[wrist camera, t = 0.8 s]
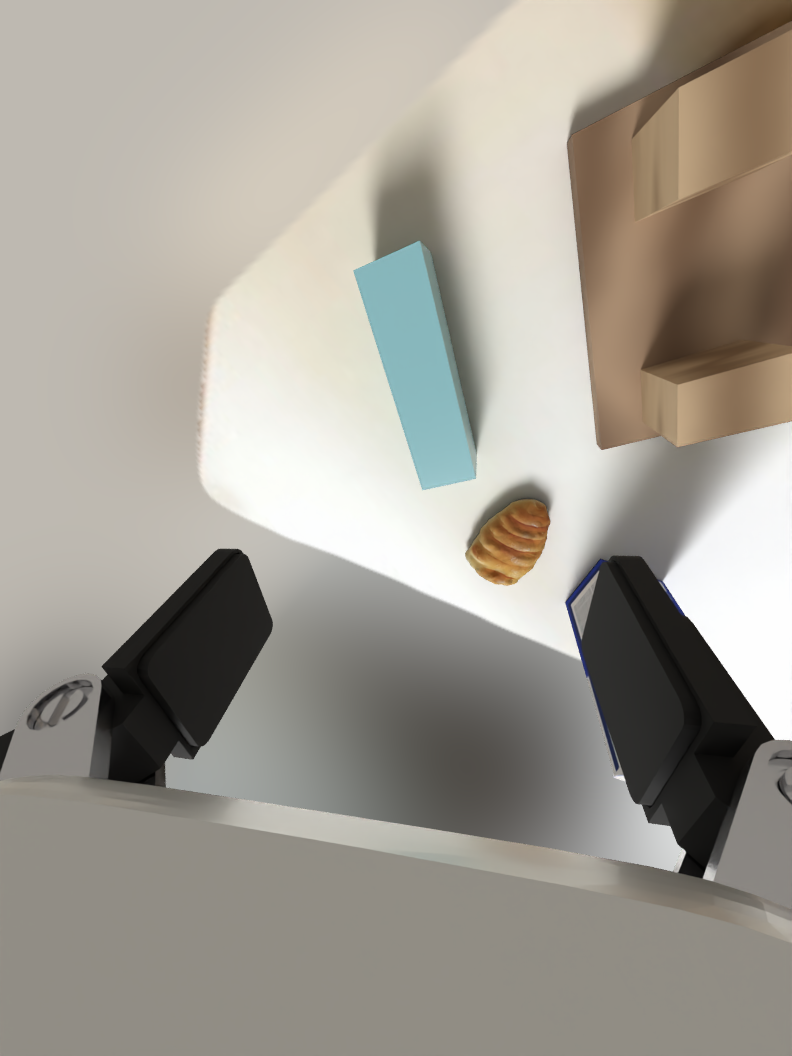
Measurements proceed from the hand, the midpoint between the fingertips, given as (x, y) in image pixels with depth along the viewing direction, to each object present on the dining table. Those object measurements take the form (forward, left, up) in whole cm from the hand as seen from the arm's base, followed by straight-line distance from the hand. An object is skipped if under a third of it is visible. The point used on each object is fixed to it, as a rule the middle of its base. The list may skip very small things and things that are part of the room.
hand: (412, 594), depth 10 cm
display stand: (-16, -2, -26) cm, 31 cm away
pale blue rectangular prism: (+2, -2, -26) cm, 26 cm away
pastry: (-1, +15, -26) cm, 31 cm away
